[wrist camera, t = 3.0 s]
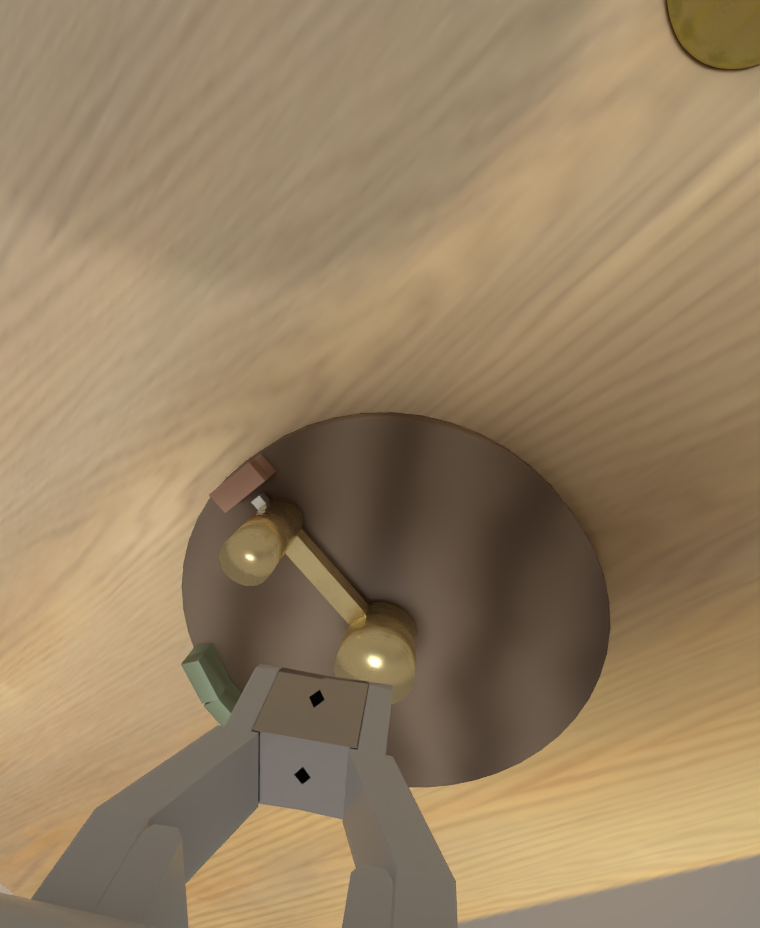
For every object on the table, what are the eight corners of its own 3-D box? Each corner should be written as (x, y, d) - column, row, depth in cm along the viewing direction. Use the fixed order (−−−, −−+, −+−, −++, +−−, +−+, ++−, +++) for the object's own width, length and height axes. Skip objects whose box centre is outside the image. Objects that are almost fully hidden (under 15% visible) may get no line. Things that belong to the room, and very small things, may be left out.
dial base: (635, 422, 21) (671, 440, 18) (563, 781, 28) (579, 841, 25) (177, 403, 24) (135, 415, 21) (218, 732, 31) (192, 780, 28)
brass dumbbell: (432, 642, 24) (430, 708, 20) (376, 673, 25) (363, 742, 21) (286, 473, 22) (250, 506, 18) (233, 515, 23) (188, 556, 19)
